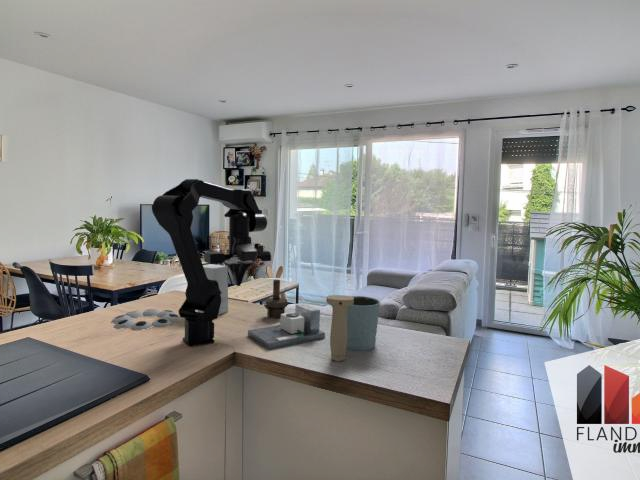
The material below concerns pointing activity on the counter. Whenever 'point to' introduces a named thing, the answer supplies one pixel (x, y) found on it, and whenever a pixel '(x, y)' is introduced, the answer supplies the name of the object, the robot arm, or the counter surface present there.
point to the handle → (339, 325)
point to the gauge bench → (280, 337)
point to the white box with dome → (292, 323)
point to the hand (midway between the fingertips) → (238, 285)
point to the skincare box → (219, 283)
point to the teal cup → (362, 323)
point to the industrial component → (275, 302)
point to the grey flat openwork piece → (127, 318)
